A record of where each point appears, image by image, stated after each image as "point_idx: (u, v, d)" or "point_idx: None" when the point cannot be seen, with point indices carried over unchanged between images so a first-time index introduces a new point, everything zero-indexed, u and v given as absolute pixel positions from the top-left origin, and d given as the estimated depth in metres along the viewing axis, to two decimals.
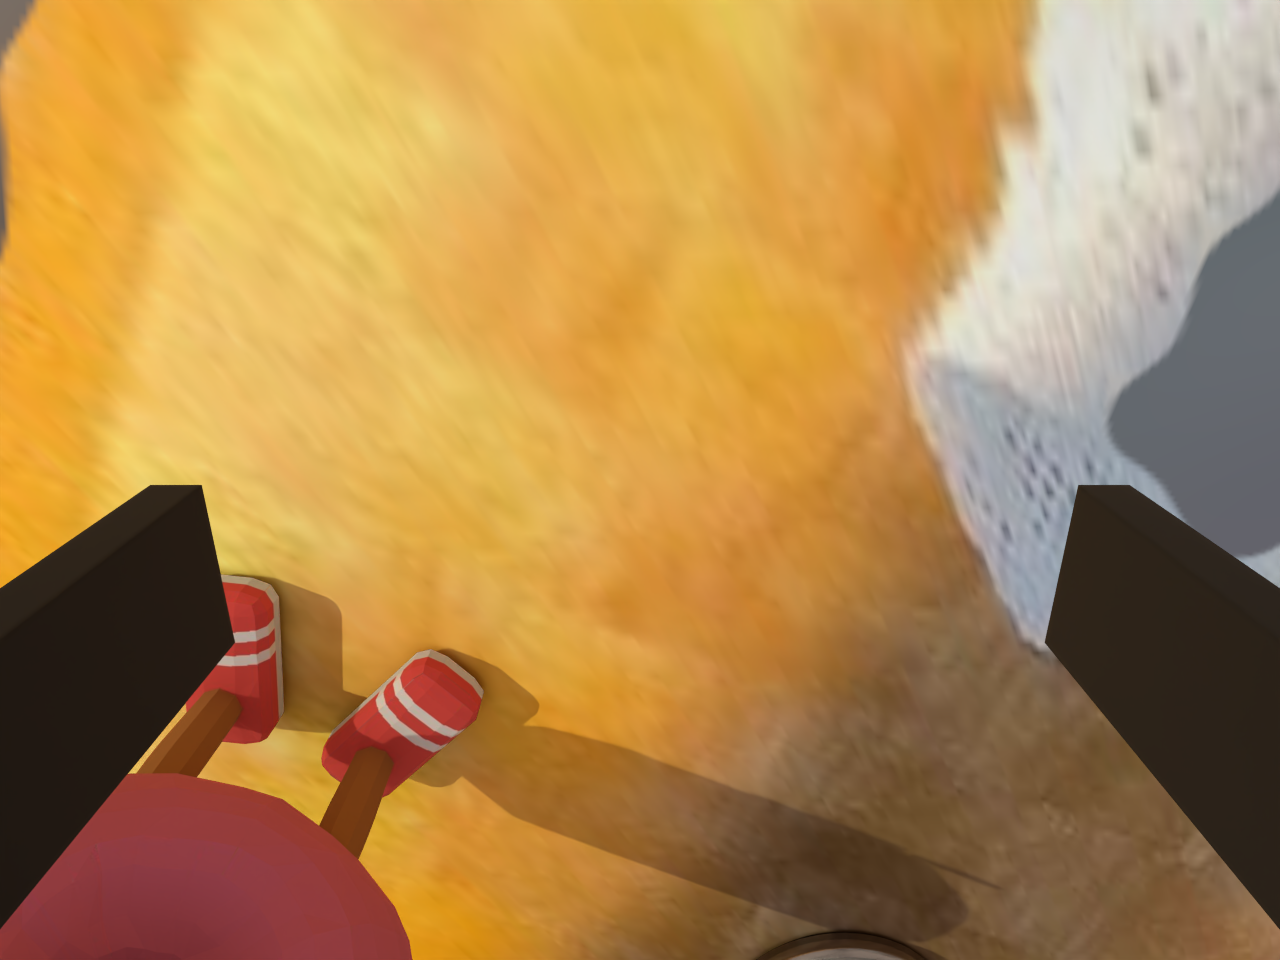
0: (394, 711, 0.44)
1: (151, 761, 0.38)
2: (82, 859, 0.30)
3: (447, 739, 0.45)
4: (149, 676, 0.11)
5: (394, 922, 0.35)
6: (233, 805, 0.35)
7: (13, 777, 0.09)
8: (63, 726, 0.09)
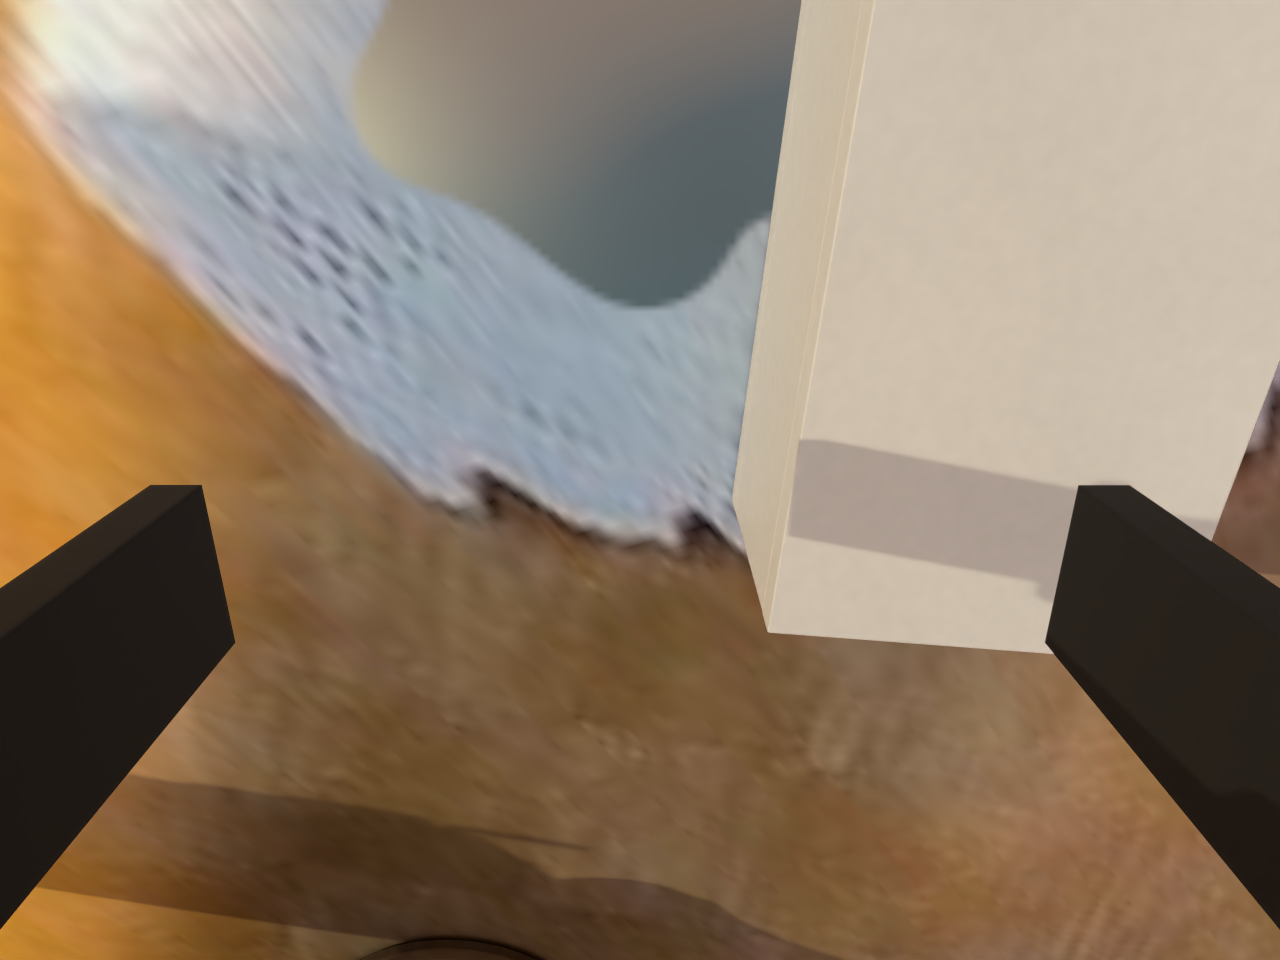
0: None
1: None
2: None
3: None
4: (149, 676, 0.11)
5: None
6: None
7: (13, 777, 0.09)
8: (64, 726, 0.09)
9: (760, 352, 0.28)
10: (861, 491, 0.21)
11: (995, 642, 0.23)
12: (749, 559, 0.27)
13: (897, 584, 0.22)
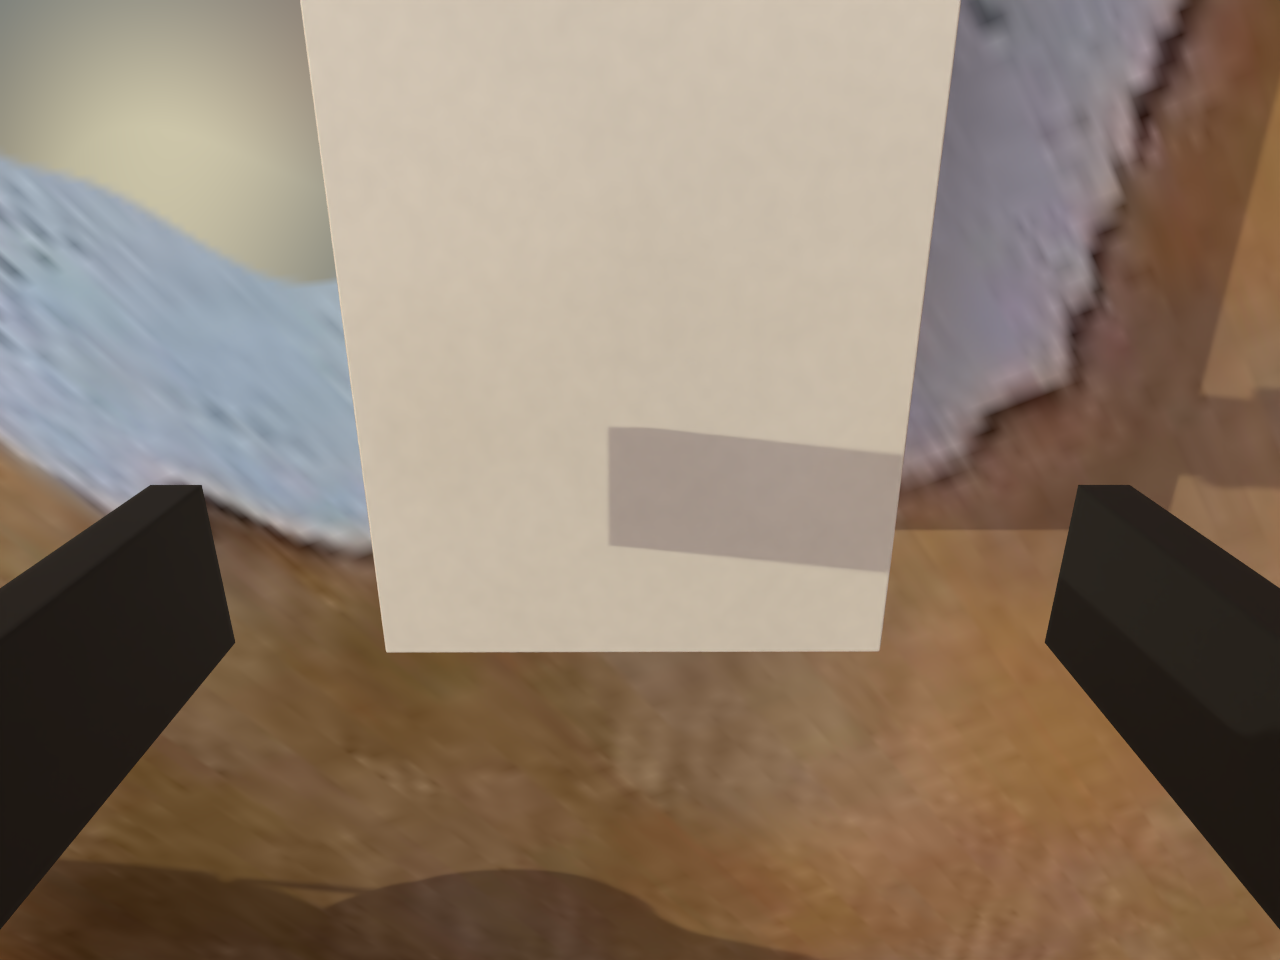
0: None
1: None
2: None
3: None
4: (149, 676, 0.11)
5: None
6: None
7: (13, 777, 0.09)
8: (63, 726, 0.09)
9: None
10: (448, 472, 0.17)
11: (664, 642, 0.19)
12: None
13: (525, 582, 0.18)
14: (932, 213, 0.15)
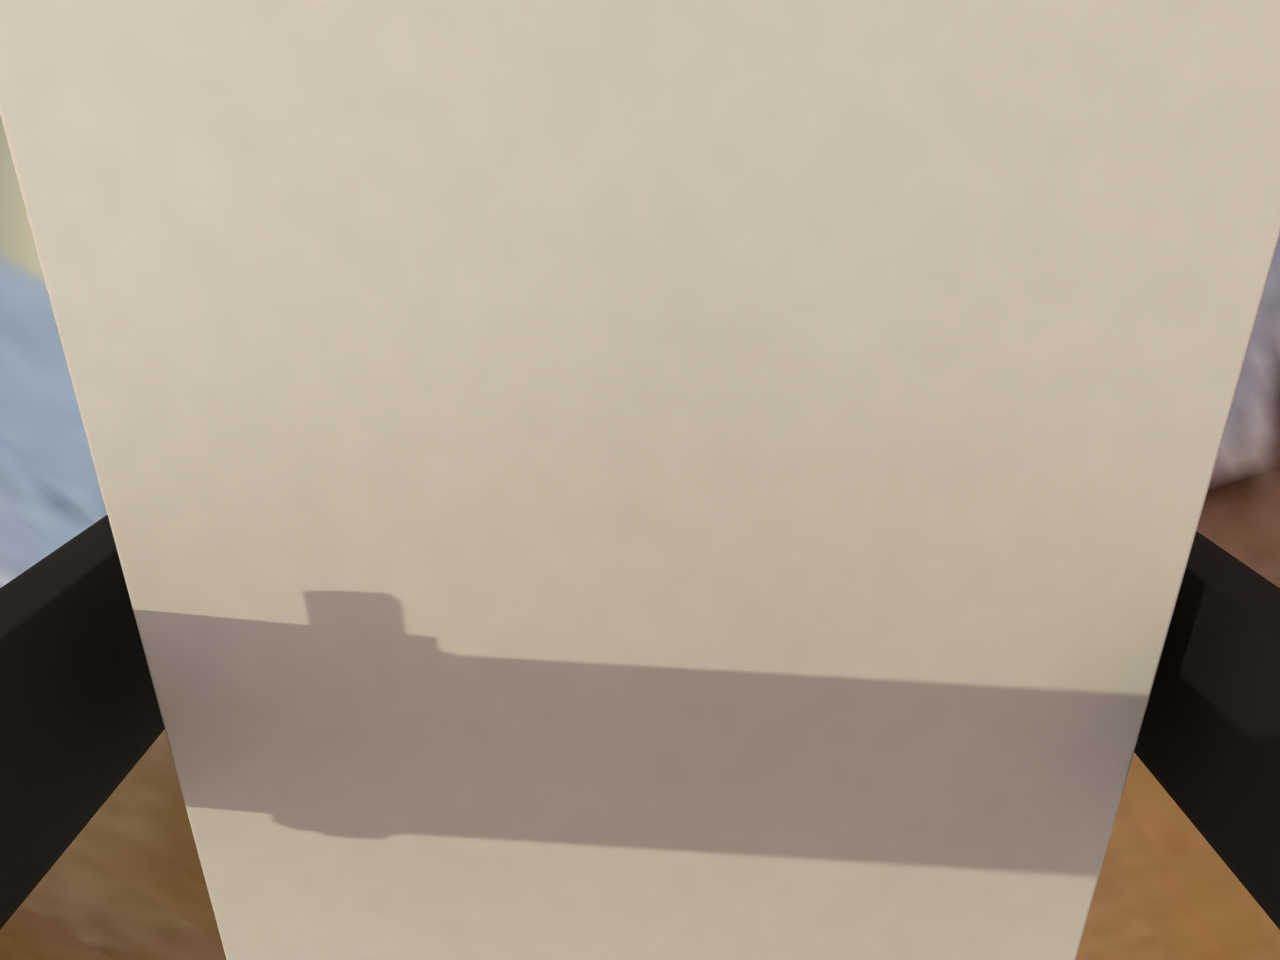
0: None
1: None
2: None
3: None
4: (149, 676, 0.11)
5: None
6: None
7: (14, 777, 0.09)
8: (64, 726, 0.09)
9: None
10: (314, 709, 0.10)
11: None
12: None
13: (461, 878, 0.10)
14: (1273, 243, 0.08)
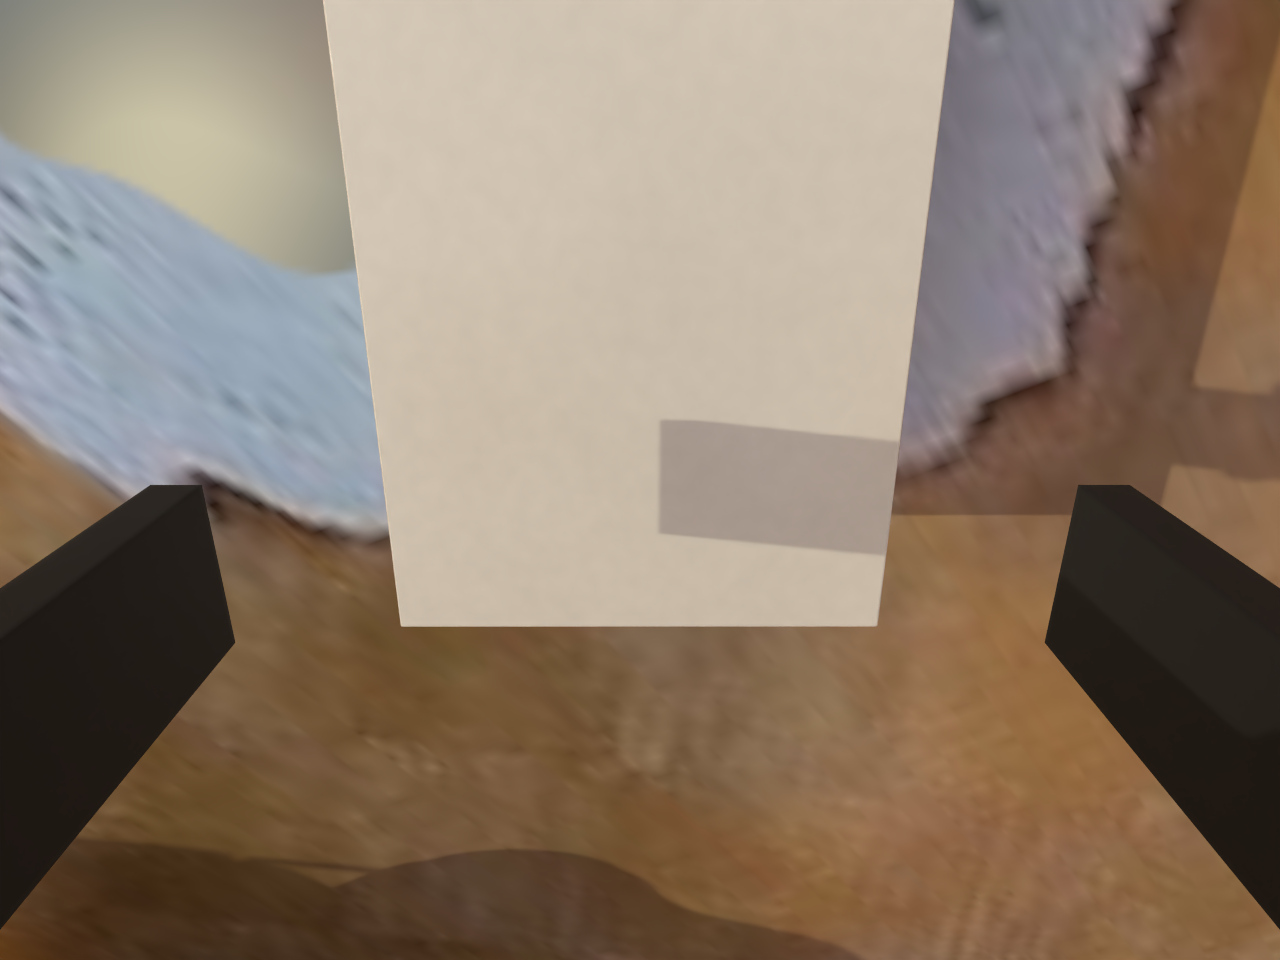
0: None
1: None
2: None
3: None
4: (149, 676, 0.11)
5: None
6: None
7: (13, 777, 0.09)
8: (63, 727, 0.09)
9: None
10: (461, 452, 0.18)
11: (668, 617, 0.20)
12: None
13: (535, 558, 0.19)
14: (928, 201, 0.16)
